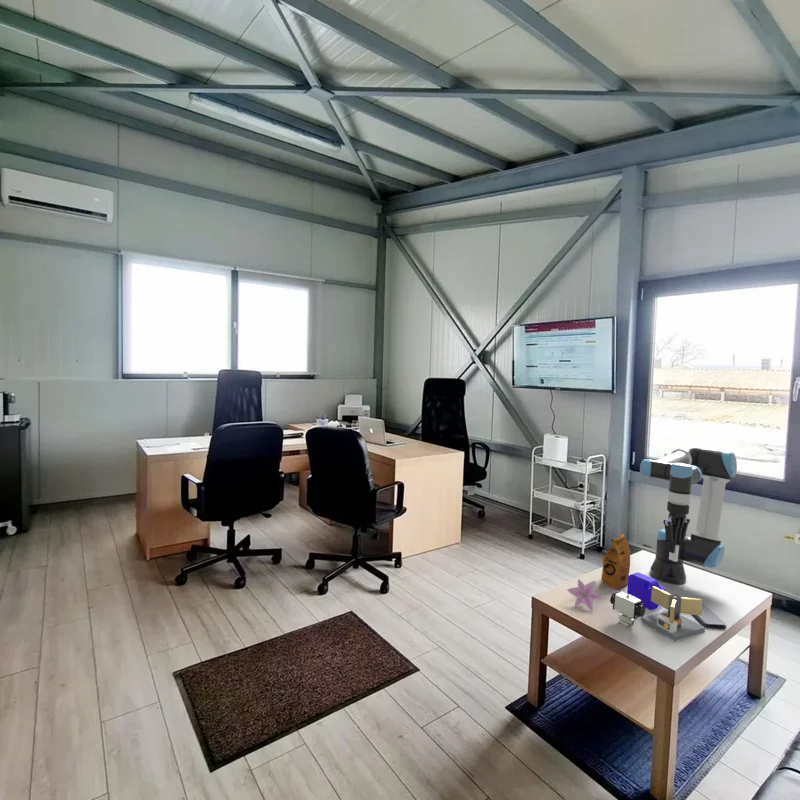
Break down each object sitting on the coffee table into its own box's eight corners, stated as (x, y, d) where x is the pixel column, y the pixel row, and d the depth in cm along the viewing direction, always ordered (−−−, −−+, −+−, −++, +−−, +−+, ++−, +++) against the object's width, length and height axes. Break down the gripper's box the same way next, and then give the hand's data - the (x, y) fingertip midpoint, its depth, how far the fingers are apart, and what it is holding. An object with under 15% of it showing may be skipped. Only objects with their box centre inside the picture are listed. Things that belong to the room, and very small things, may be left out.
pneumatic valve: (637, 633, 178) (640, 602, 177) (608, 618, 187) (610, 589, 186) (645, 628, 181) (647, 598, 180) (615, 614, 190) (618, 586, 189)
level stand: (670, 614, 193) (671, 601, 192) (704, 632, 180) (706, 618, 180) (640, 622, 186) (641, 608, 185) (673, 642, 173) (674, 627, 172)
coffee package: (597, 582, 219) (600, 536, 218) (611, 575, 227) (615, 531, 225) (617, 590, 211) (621, 543, 210) (632, 584, 219) (635, 537, 217)
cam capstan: (665, 605, 195) (667, 582, 194) (700, 624, 182) (703, 599, 181) (636, 613, 188) (638, 589, 187) (671, 633, 175) (673, 607, 174)
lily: (562, 600, 202) (564, 587, 197) (580, 585, 207) (582, 571, 202) (586, 621, 194) (589, 607, 188) (604, 604, 199) (607, 590, 194)
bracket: (651, 611, 195) (653, 583, 194) (626, 599, 204) (628, 572, 203) (674, 600, 205) (676, 574, 204) (649, 590, 214) (652, 564, 213)
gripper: (680, 498, 194) (675, 554, 196) (658, 501, 189) (653, 558, 190) (698, 503, 187) (692, 561, 189) (676, 506, 182) (671, 566, 184)
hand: (673, 560), depth 190 cm, fingers closed
